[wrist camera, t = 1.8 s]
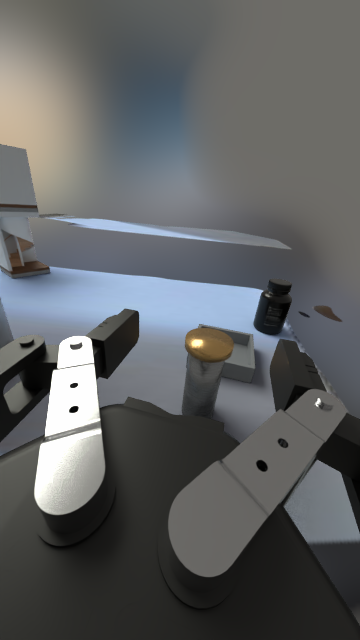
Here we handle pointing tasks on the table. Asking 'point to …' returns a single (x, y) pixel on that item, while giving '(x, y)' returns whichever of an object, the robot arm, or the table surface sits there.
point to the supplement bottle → (273, 307)
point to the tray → (238, 355)
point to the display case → (17, 215)
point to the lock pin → (204, 369)
